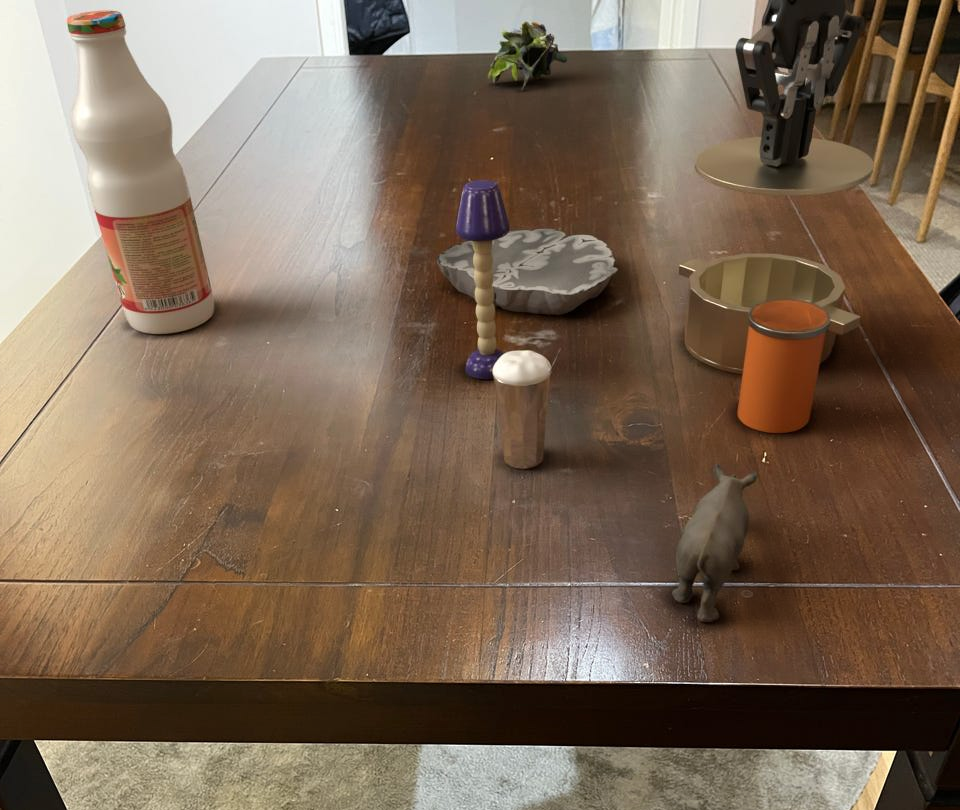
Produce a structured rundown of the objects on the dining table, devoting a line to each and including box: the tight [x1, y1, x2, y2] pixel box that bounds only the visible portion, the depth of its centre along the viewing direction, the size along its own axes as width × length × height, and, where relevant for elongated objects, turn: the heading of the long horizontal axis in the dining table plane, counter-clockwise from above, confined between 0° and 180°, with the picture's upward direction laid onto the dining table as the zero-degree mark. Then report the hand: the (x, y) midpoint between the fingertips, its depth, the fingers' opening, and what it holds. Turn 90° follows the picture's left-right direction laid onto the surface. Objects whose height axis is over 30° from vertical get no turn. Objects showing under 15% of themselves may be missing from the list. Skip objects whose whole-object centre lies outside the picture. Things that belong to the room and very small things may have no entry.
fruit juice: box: [66, 9, 215, 335], centre depth 99 cm, size 9×9×28 cm
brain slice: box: [436, 227, 618, 316], centre depth 109 cm, size 20×17×3 cm
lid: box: [694, 93, 875, 197], centre depth 85 cm, size 15×15×6 cm
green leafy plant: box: [487, 21, 568, 92], centre depth 172 cm, size 11×11×12 cm
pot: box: [678, 253, 861, 375], centre depth 95 cm, size 14×19×6 cm
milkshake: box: [493, 348, 562, 470], centre depth 80 cm, size 5×5×10 cm
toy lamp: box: [455, 179, 510, 380], centre depth 90 cm, size 5×5×17 cm
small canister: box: [736, 299, 831, 434], centre depth 84 cm, size 6×6×9 cm
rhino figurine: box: [671, 463, 758, 623], centre depth 70 cm, size 4×14×6 cm, turn 158°
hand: (784, 158), depth 86 cm, fingers closed on lid, 2 cm apart
